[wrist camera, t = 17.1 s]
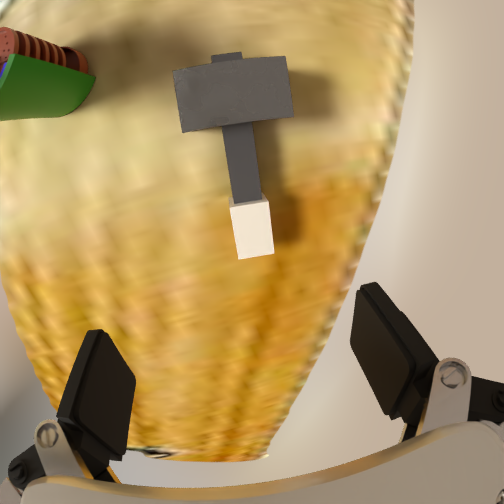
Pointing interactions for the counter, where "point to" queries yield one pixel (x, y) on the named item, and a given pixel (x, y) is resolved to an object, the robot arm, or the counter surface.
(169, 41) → the counter surface
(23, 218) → the counter surface
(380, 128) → the counter surface
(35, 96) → the motor
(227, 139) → the plug
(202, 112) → the housing
